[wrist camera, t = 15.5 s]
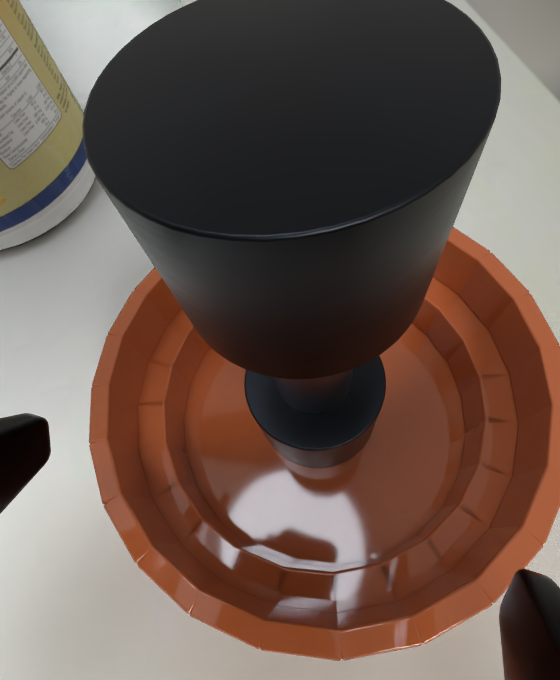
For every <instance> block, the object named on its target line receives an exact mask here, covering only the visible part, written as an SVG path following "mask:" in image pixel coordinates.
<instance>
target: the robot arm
mask: <svg viewBox="0 0 560 680" xmlns="http://www.w3.org/2000/svg"><path fill="white" fill-rule="evenodd" d="M50 453H51V447H50V436H49V425H48V422H47V420H46V419H45V418H43V417H40V416H37V415H34V414H29V413H24V414H19V415H14V416H9V417H5V418H0V513H1V512H2V511H3V510H4V509H5V508H6V507H7V506H8V505H9V504H10V502H11V501H12V500H13V499H14V498H15V497H16V496H17V495H18V494H19V492H20V491H21V490H22V489H23V488H24V487H25V486H26V485H27V484H28V482H29V481H30V480H31V479H32V478H33V477H34V476H35V475H36V474H37V472H38V471H39V470H40V469H41V468H42V467H43V466H44V465H45V463H46V462H47V461H48V459H49V456H50ZM499 621H500V633H501V644H502V655H503V666H504V677H505V680H560V588H559V587H558V586H557V585H556V583H555V582H554V581H553V580H552V579H550V578H549V577H547V576H545V575H542V574H539V573H536V572H533V571H530V570H526V569H519V570H518V571H516V573H515V574H514V576H513V579H512V581H511V583H510V585H509V587H508V590H507V592H506V594H505V596H504V599H503V601H502V603H501V607H500V613H499Z"/></svg>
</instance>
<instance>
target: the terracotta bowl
mask: <svg viewBox="0 0 560 680" xmlns="http://www.w3.org/2000/svg"><path fill="white" fill-rule="evenodd" d="M134 290H135V291H133V292H132V293H131V295H130V297H129V298H128V300H127V302H126V303H125V305H124V307H123V309H122V310H121V312H120V314H119V315H118V317H117V319H116V320H115V322H114V324H113V326H112V327H111V329H110V331H109V332H108V335H107V337H106V340H105V344H104V347H103V350H102V354H101V357H100V360H99V363H98V367H97V370H96V373H95V376H94V380H93V383H92V386H93V387H92V388H91V409H90V431H89V443H90V446H89V447H90V451H91V455H92V460H93V464H94V468H95V473H96V477H97V482H98V486H99V490H100V495H101V499H102V503H103V504H104V508H105V510H106V512H107V513H108V515H109V517H110V519H111V521H112V522H113V524H114V526H115V528H116V529H117V531H118V533H119V535H120V537H121V538H122V540H123V542H124V544H125V546H126V547H127V549H128V551H129V553H130V554H131V556H132V558H133V560H134V562H135V563H138V564H137V565H138V567H139V568H140V569H141V570H142V571H143V572H144V573H145V574H146V575H148V576H149V577H150V578H151V579H152V580H153V581H154V582H155V583H156V584H157V585H158V586H159V587H160V588H161V589H162V590H163V591H164V592H165V593H166V594H167V595H168V596H169V597H171V598H172V599H173V600H174V601H175V602H176V603H177V604H178V605H179V606H180V607H181V608H182V609H183V610H184V611H185V612H186V613H188V614H190V616H191V617H193V618H195V619H197V620H199V621H201V622H203V623H205V624H207V625H209V626H212V627H214V628H216V629H218V630H220V631H222V632H224V633H226V634H228V635H230V636H232V637H234V638H236V639H238V640H240V641H242V642H244V643H246V644H248V645H250V646H252V647H255V648H257V649H261V650H262V651H270V652H277V653H284V654H292V655H299V656H306V657H314V658H321V659H328V660H336V661H340V660H341V659H342V660H349V659H354V658H360V657H365V656H370V655H375V654H380V653H386V652H391V651H396V650H401V649H406V648H411V647H417V646H420V645H422V643H423V644H426V643H428V642H430V641H431V640H433V639H435V638H437V637H438V636H440V635H442V634H443V633H445V632H447V631H449V630H450V629H452V628H454V627H456V626H457V625H459V624H461V623H462V622H464V621H466V620H468V619H469V618H471V617H473V616H475V615H476V614H478V613H480V612H481V611H483V610H485V609H487V608H488V607H490V606H491V605H492V602H493V603H494V602H496V601H497V600H498V599H499V598H500V596H501V595H502V594H503V593H504V592H505V591H506V589H507V588H508V587H509V585H510V583H511V581H512V579H513V576H514V574H515V573H516V571H518V570H519V569H524V568H525V567H526V566H527V565H528V564H529V563H530V561H531V560H532V559H533V558H534V557H535V556H536V554H537V553H538V552H539V551H540V550H541V549H542V547H543V544H544V543H545V542H546V540H547V537H548V535H549V532H550V530H551V527H552V525H553V522H554V520H555V517H556V515H557V512H558V510H559V507H560V346H559V343H558V341H557V339H556V338H555V336H554V334H553V332H552V331H551V329H550V327H549V325H548V324H547V322H546V320H545V318H544V316H543V315H542V313H541V311H540V309H539V308H538V306H537V304H536V302H535V300H534V299H533V297H532V295H531V294H529V291H528V290H527V289H526V288H525V287H524V286H523V285H522V284H521V283H520V282H519V281H518V280H517V279H516V278H515V276H514V275H513V274H512V273H511V272H510V271H509V270H508V269H507V268H506V267H505V266H504V265H503V264H502V263H501V262H500V261H499V260H498V259H497V258H496V257H495V256H494V254H493V253H490V251H489V250H487V249H486V248H484V247H483V246H481V245H480V244H478V243H477V242H475V241H474V240H472V239H471V238H469V237H468V236H466V235H465V234H463V233H462V232H460V231H459V230H457V229H455V228H454V227H452V230H451V232H450V235H449V237H448V240H447V242H446V245H445V247H444V250H443V253H442V255H441V258H440V260H439V263H438V265H437V268H436V270H435V273H434V275H433V278H432V280H431V283H430V286H429V288H428V291H427V293H426V296H425V298H424V301H423V303H422V306H421V308H420V310H419V312H418V314H417V316H416V318H415V319H414V321H413V322H412V324H411V325H410V327H409V328H408V329H407V331H406V332H405V333H404V334H403V335H402V336H401V337H400V338H399V339H398V340H397V342H396V343H394V344H393V345H392V346H391V347H390V348H388V349H387V350H386V351H385V352H383V353H382V354H380V355H379V356H380V358H381V361H382V363H383V367H384V370H385V376H386V392H385V398H384V401H383V405H382V408H381V410H380V413H379V415H378V418H377V420H376V423H375V425H374V428H373V431H372V433H371V435H370V437H369V439H368V441H367V442H366V444H365V445H364V447H363V448H362V449H361V450H360V451H359V452H358V453H357V454H356V455H355V456H353V457H352V458H350V459H349V460H347V461H345V462H343V463H341V464H338V465H335V466H332V467H326V468H311V467H305V466H302V465H298V464H296V463H293V462H292V461H290V460H288V459H286V458H285V457H284V456H282V455H281V454H280V453H279V452H278V451H277V450H276V449H275V448H274V447H273V446H272V445H271V443H270V442H269V440H268V439H267V437H266V436H265V434H264V433H263V431H262V430H261V428H260V427H259V425H258V424H257V422H256V421H255V419H254V417H253V415H252V414H251V412H250V409H249V407H248V404H247V401H246V397H245V389H244V380H245V373H246V369H244V368H242V367H240V366H238V365H236V364H234V363H232V362H230V361H228V360H227V359H225V358H224V357H222V356H221V355H220V354H218V353H217V352H216V351H214V350H213V349H212V348H211V347H210V346H209V345H208V344H207V343H206V342H205V341H204V340H203V338H202V337H201V336H200V334H199V333H198V332H197V331H196V329H195V328H194V326H193V324H192V323H191V321H190V320H189V318H188V317H187V315H186V314H185V312H184V311H183V309H182V308H181V306H180V305H179V303H178V302H177V300H176V299H175V297H174V295H173V294H172V292H171V291H170V289H169V288H168V286H167V285H166V283H165V282H164V280H163V279H162V277H161V276H160V274H159V273H158V271H157V270H156V268H154V269H153V270H152V271H151V272H150V273H149V274H148V275H147V276H146V277H145V278H144V279H143V280H142V281H141V283H140V284H139V285H138V286H137V287H136V288H135V289H134Z"/></svg>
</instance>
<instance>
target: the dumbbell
mask: <svg viewBox="0 0 560 680" xmlns="http://www.w3.org/2000/svg"><path fill="white" fill-rule="evenodd" d="M500 94H501V75H500V70H499V64H498V59H497V57H496V54H495V52H494V50H493V47H492V45H491V43H490V41H489V40H488V39H487V37H486V36H485V34H484V33H483V31H482V30H481V29H480V28H479V27H478V26H477V25H476V24H475V23H474V21H473V20H472V19H471V18H470V17H469V16H467V15H466V14H465V13H463V12H462V11H461V10H459V9H458V8H457V7H455V6H454V5H453V4H451V3H449V2H447V1H445V0H197V1H195V2H192V3H190V4H188V5H186V6H184V7H182V8H180V9H178V10H176V11H174V12H172V13H170V14H168V15H167V16H165V17H163V18H162V19H160V20H158V21H157V22H155V23H154V24H152V25H150V26H149V27H148V28H146V29H145V30H144V31H142V32H141V33H140V34H138V35H137V36H136V37H134V38H133V39H132V40H131V41H130V42H129V43H128V44H127V45H125V46H124V47H123V48H122V49H121V50H120V51H119V52H118V53H117V54H116V55H115V57H114V58H113V59H112V60H111V61H110V62H109V63H108V65H107V66H106V67H105V69H104V70H103V72H102V73H101V74H100V76H99V77H98V79H97V81H96V83H95V85H94V87H93V88H92V90H91V92H90V95H89V98H88V101H87V104H86V107H85V110H84V117H83V124H82V130H83V144H84V149H85V152H86V156H87V159H88V163H89V165H90V166H91V168H92V170H93V172H94V174H95V176H96V178H97V180H98V181H99V183H100V184H101V186H102V187H103V189H104V190H105V192H106V193H107V195H108V196H109V198H110V199H111V201H112V202H113V204H114V205H115V207H116V209H117V210H118V212H119V213H120V215H121V216H122V218H123V219H124V221H125V222H126V224H127V225H128V227H129V228H130V230H131V231H132V233H133V234H134V236H135V238H136V239H137V241H138V242H139V244H140V245H141V247H142V248H143V250H144V251H145V253H146V254H147V256H148V257H149V259H150V260H151V262H152V263H153V265H154V267H155V268H156V270H157V271H158V273H159V274H160V276H161V277H162V279H163V280H164V282H165V283H166V285H167V286H168V288H169V289H170V291H171V292H172V294H173V295H174V297H175V299H176V300H177V302H178V303H179V305H180V306H181V308H182V309H183V311H184V312H185V314H186V315H187V317H188V318H189V320H190V321H191V323H192V324H193V326H194V328H195V329H196V331H197V332H198V333H199V334H200V336H201V337H202V338H203V340H204V341H205V342H206V343H207V344H208V345H209V346H210V347H211V348H212V349H213V350H214V351H216V352H217V353H218V354H220V355H221V356H222V357H224V358H225V359H227V360H228V361H230V362H232V363H234V364H236V365H238V366H240V367H242V368H244V369H246V373H245V380H244V389H245V397H246V401H247V404H248V407H249V409H250V412H251V414H252V415H253V417H254V419H255V421H256V422H257V424H258V425H259V427H260V428H261V430H262V431H263V433H264V434H265V436H266V437H267V439H268V440H269V442H270V443H271V445H272V446H273V447H274V448H275V449H276V450H277V451H278V452H279V453H280V454H281V455H282V456H284V457H285V458H286V459H288V460H290V461H292V462H293V463H296V464H298V465H302V466H305V467H311V468H326V467H332V466H335V465H338V464H341V463H343V462H345V461H347V460H349V459H350V458H352V457H353V456H355V455H356V454H357V453H358V452H359V451H360V450H361V449H362V448H363V447H364V445H365V444H366V442H367V441H368V439H369V437H370V435H371V433H372V431H373V428H374V425H375V423H376V420H377V418H378V415H379V413H380V410H381V408H382V405H383V401H384V398H385V392H386V376H385V370H384V367H383V363H382V361H381V358H380V356H379V355H380V354H382V353H383V352H385V351H386V350H387V349H388V348H390V347H391V346H392V345H393V344H394V343H396V342H397V340H398V339H399V338H400V337H401V336H402V335H403V334H404V333H405V332H406V331H407V329H408V328H409V327H410V325H411V324H412V322H413V321H414V319H415V318H416V316H417V314H418V312H419V310H420V308H421V306H422V303H423V301H424V298H425V296H426V293H427V291H428V288H429V286H430V283H431V280H432V278H433V275H434V273H435V270H436V268H437V265H438V263H439V260H440V258H441V255H442V253H443V250H444V247H445V245H446V242H447V240H448V237H449V235H450V232H451V230H452V227H453V225H454V222H455V219H456V217H457V214H458V212H459V209H460V207H461V204H462V202H463V199H464V197H465V194H466V191H467V189H468V186H469V184H470V181H471V179H472V176H473V174H474V171H475V169H476V166H477V164H478V161H479V158H480V156H481V153H482V151H483V148H484V146H485V143H486V141H487V138H488V136H489V133H490V130H491V128H492V125H493V123H494V120H495V117H496V113H497V110H498V106H499V102H500Z"/></svg>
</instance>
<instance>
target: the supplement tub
mask: <svg viewBox="0 0 560 680" xmlns="http://www.w3.org/2000/svg"><path fill="white" fill-rule="evenodd" d="M83 117H84V113H83V111H82V109H81V107H80V106H79V104H78V102H77V100H76V99H75V97H74V95H73V93H72V92H71V90H70V88H69V86H68V85H67V83H66V81H65V79H64V78H63V76H62V74H61V72H60V71H59V69H58V67H57V66H56V64H55V62H54V60H53V59H52V57H51V55H50V53H49V52H48V50H47V48H46V46H45V45H44V43H43V41H42V39H41V38H40V36H39V34H38V33H37V31H36V29H35V27H34V26H33V24H32V22H31V20H30V19H29V17H28V15H27V13H26V12H25V10H24V8H23V7H22V5H21V3H20V1H19V0H0V250H2V249H6V248H10V247H13V246H16V245H19V244H22V243H24V242H27V241H29V240H31V239H34V238H36V237H37V236H39V235H41V234H43V233H45V232H46V231H48V230H50V229H51V228H53V227H54V226H56V225H57V224H59V223H60V222H61V221H63V220H64V219H65V218H66V217H67V216H69V215H70V214H71V213H72V212H73V211H74V210H75V209H76V208H77V207H78V206H79V205H80V204H81V202H82V201H83V200H84V198H85V197H86V195H87V194H88V192H89V190H90V188H91V186H92V184H93V182H94V179H95V177H96V176H95V174H94V172H93V170H92V168H91V166H90V165H89V163H88V159H87V156H86V152H85V149H84V144H83V130H82V124H83Z"/></svg>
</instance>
